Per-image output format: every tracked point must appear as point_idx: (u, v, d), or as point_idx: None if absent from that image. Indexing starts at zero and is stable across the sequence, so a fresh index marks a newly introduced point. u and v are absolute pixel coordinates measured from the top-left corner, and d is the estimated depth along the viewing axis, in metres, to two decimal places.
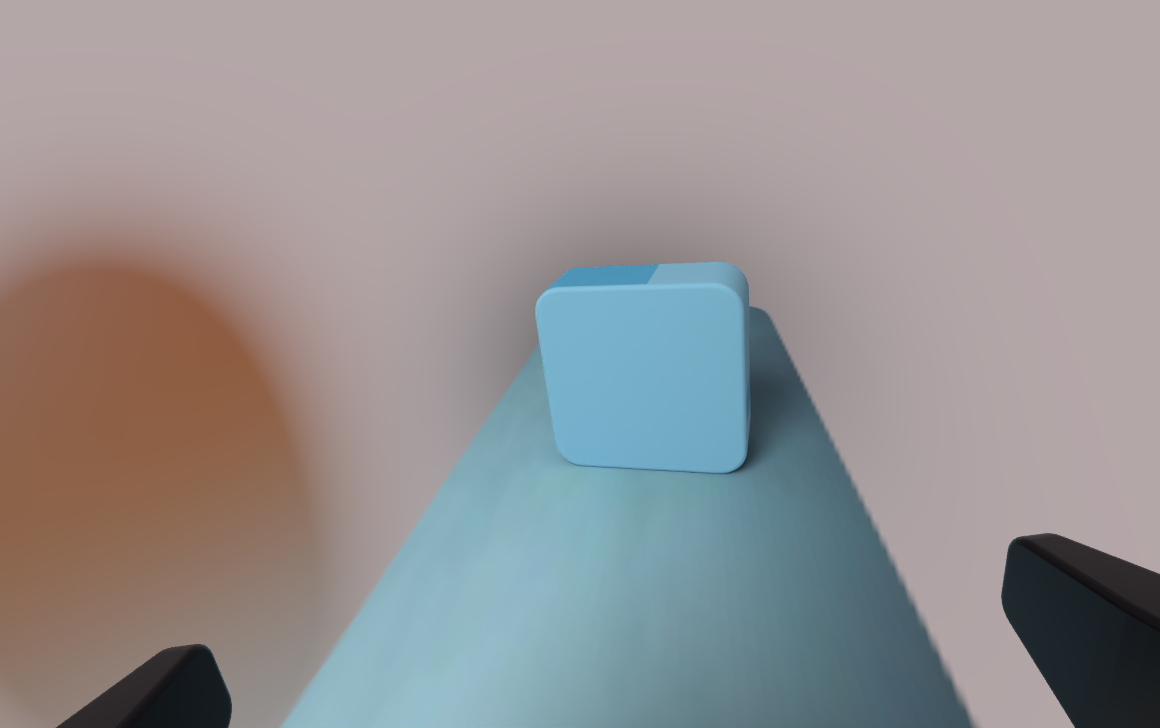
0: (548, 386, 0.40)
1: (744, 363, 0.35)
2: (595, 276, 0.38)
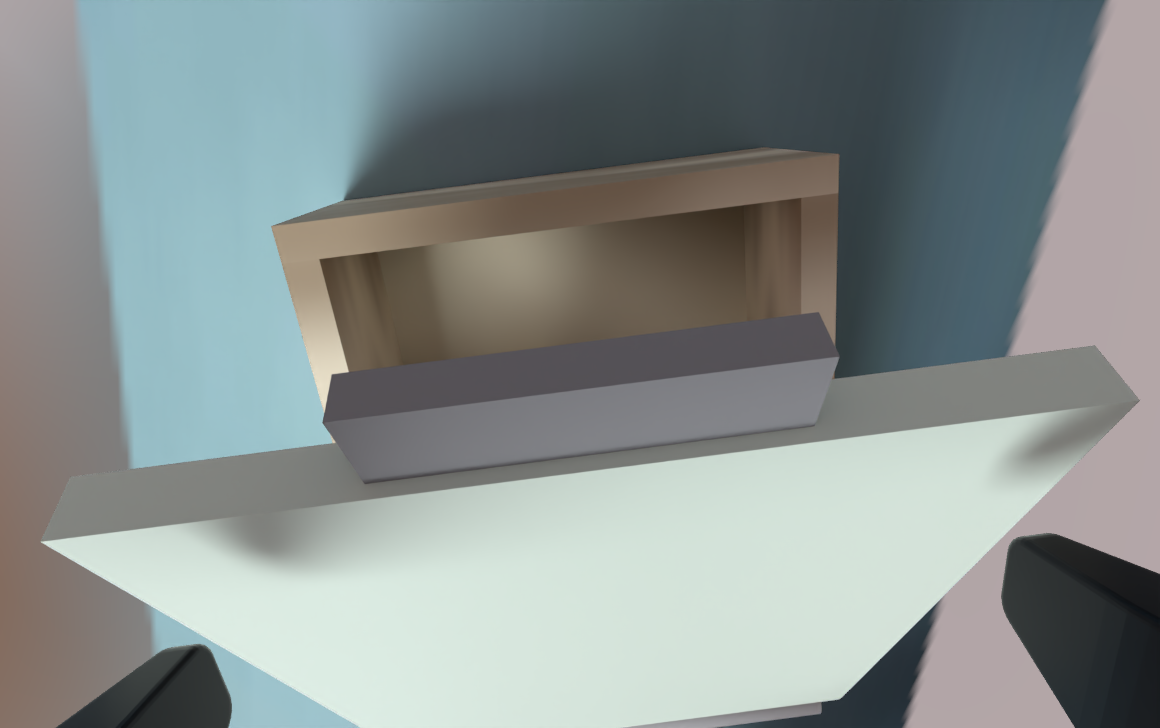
0: None
1: None
2: None
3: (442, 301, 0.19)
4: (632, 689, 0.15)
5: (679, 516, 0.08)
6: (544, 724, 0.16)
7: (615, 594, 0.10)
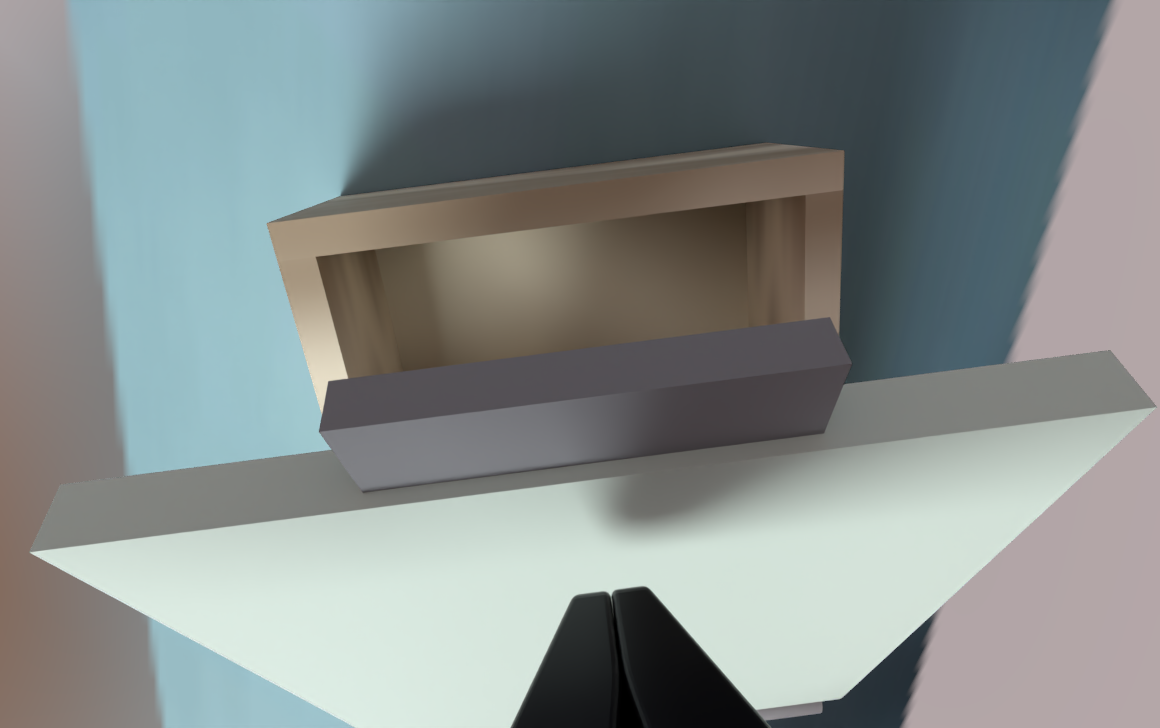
0: None
1: None
2: None
3: (441, 299, 0.18)
4: None
5: (683, 524, 0.08)
6: None
7: None
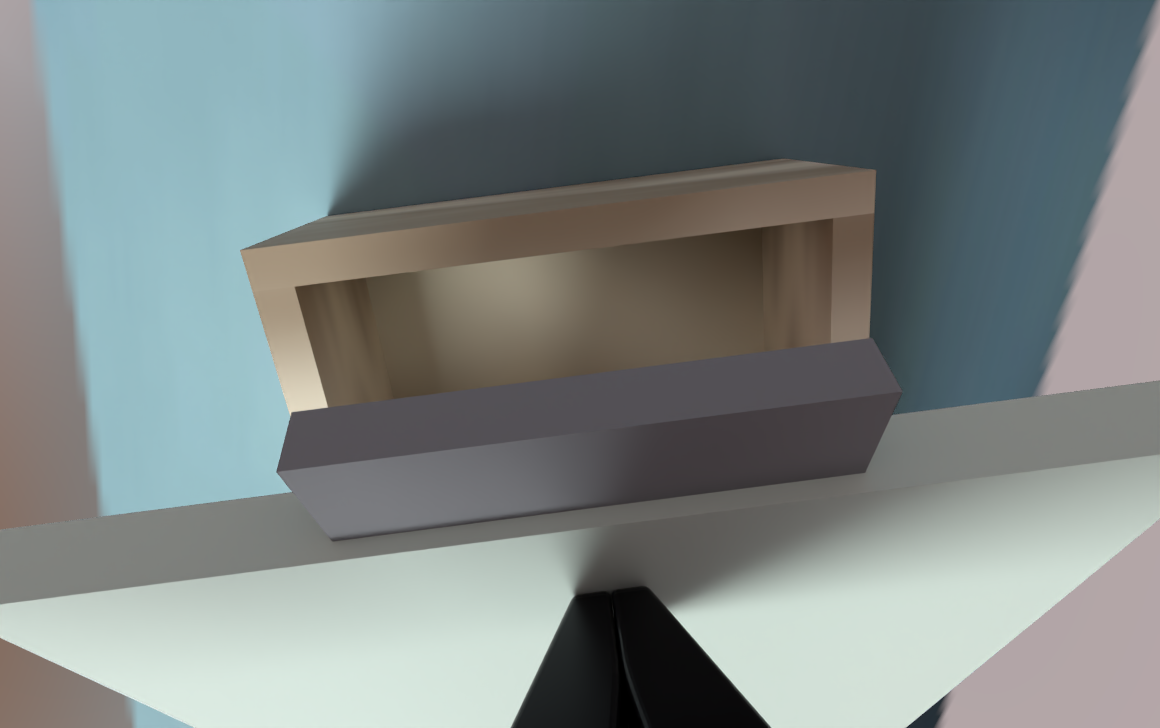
0: None
1: None
2: None
3: (435, 325, 0.17)
4: None
5: (703, 575, 0.07)
6: None
7: None
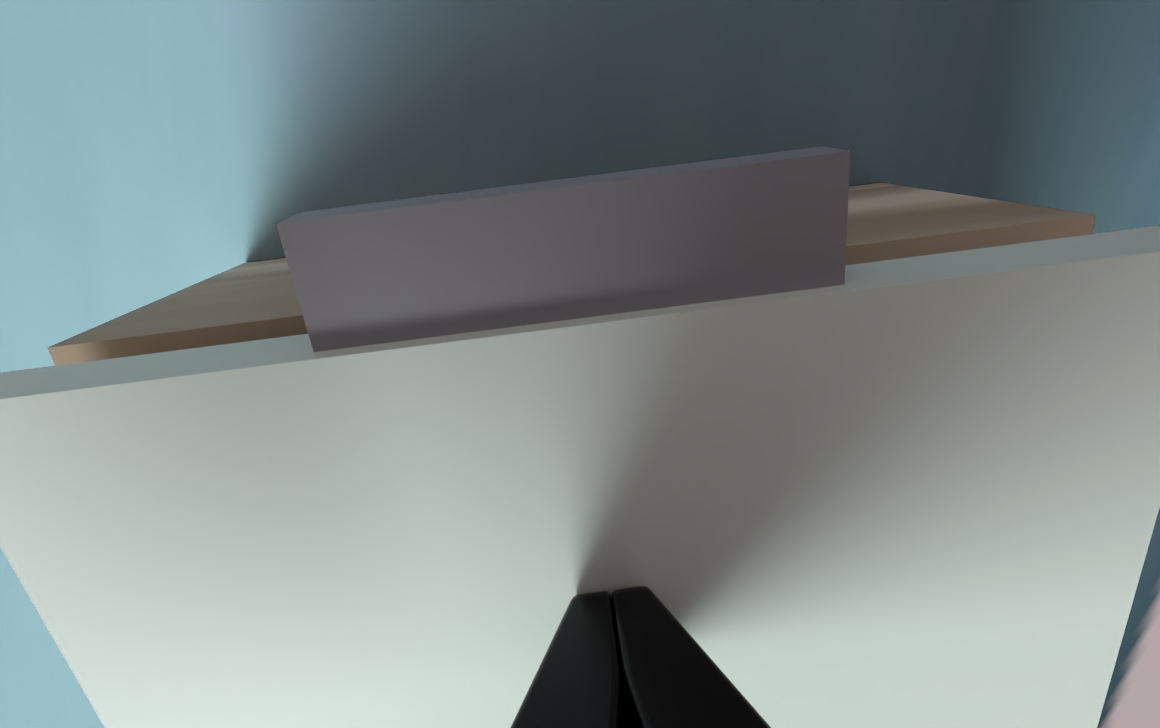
0: None
1: None
2: None
3: None
4: None
5: (697, 443, 0.06)
6: None
7: None
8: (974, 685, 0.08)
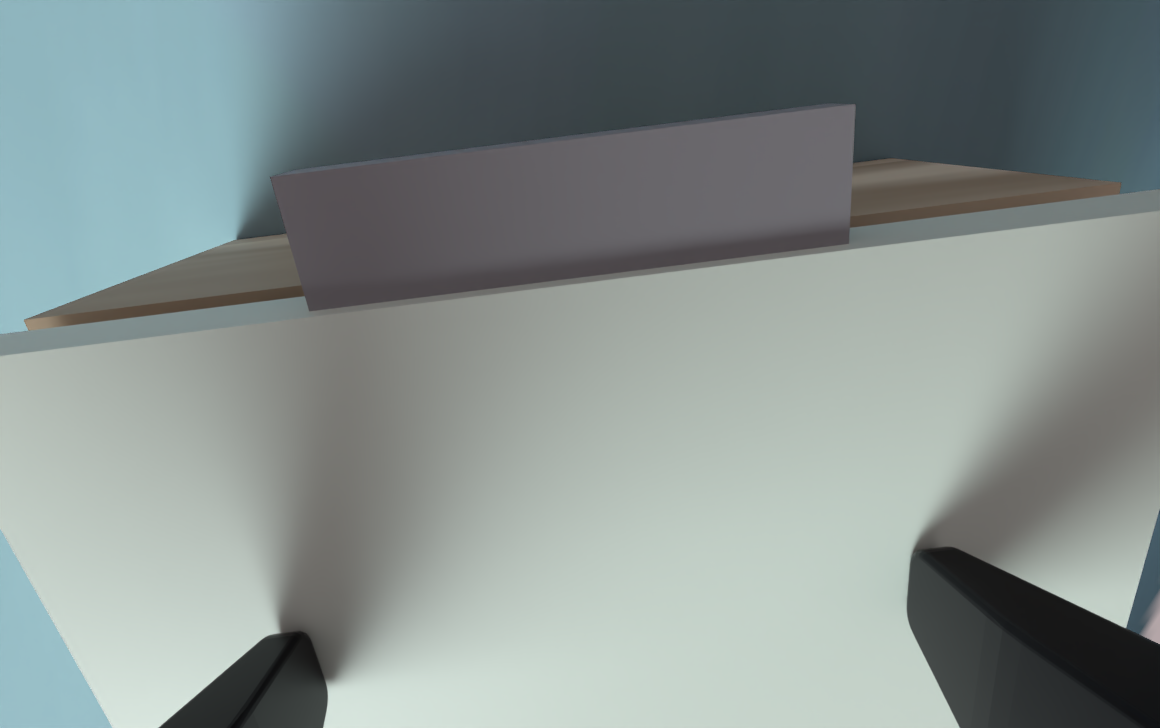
0: None
1: None
2: None
3: None
4: None
5: (700, 407, 0.06)
6: None
7: (629, 608, 0.07)
8: None
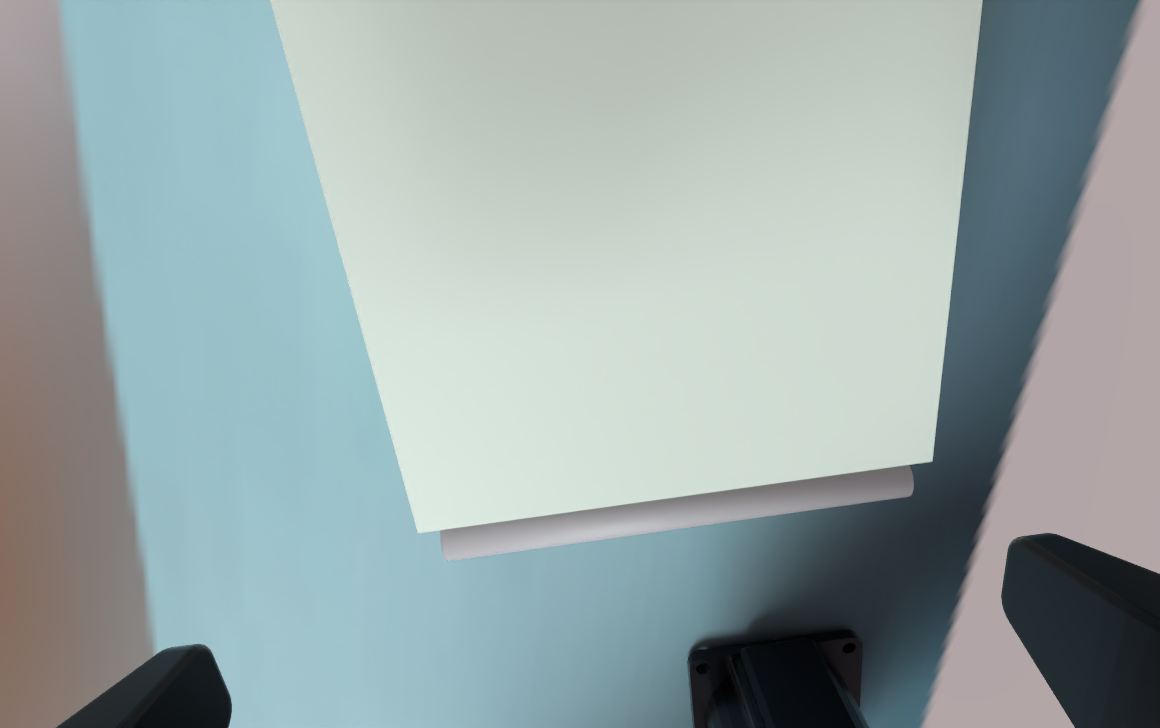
0: None
1: None
2: None
3: None
4: (676, 329, 0.13)
5: None
6: (580, 445, 0.14)
7: None
8: (881, 58, 0.11)
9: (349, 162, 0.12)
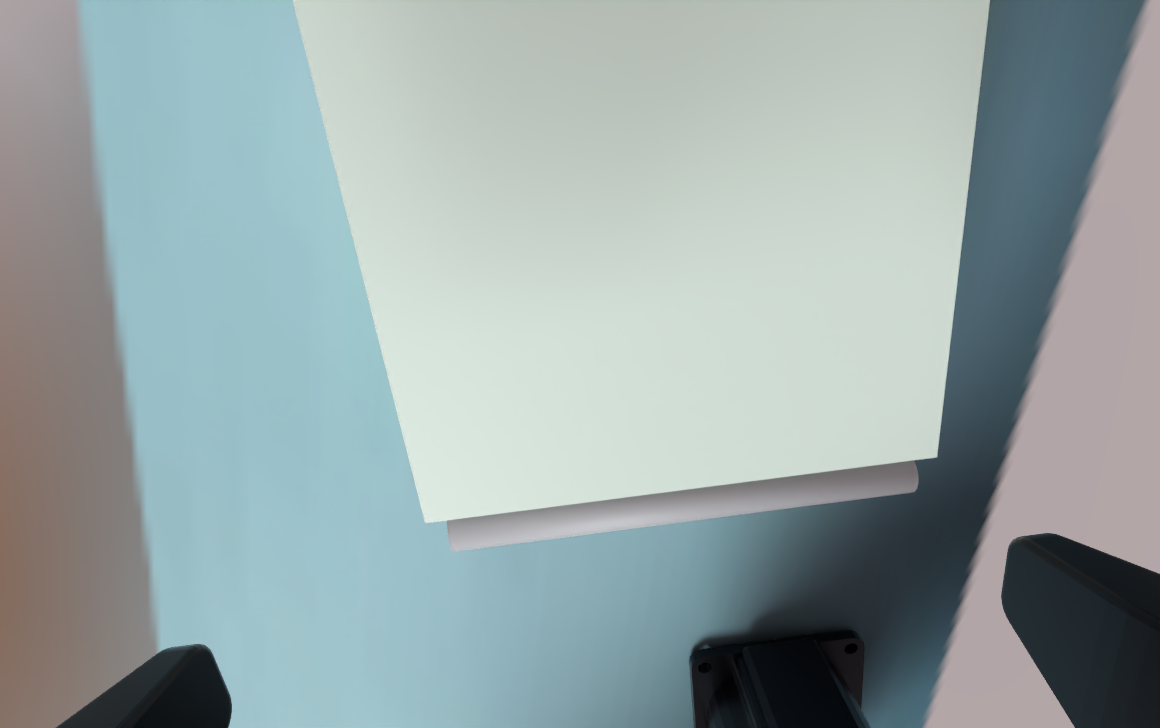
0: None
1: None
2: None
3: None
4: (684, 321, 0.13)
5: None
6: (587, 436, 0.14)
7: None
8: (890, 54, 0.12)
9: (364, 151, 0.12)
